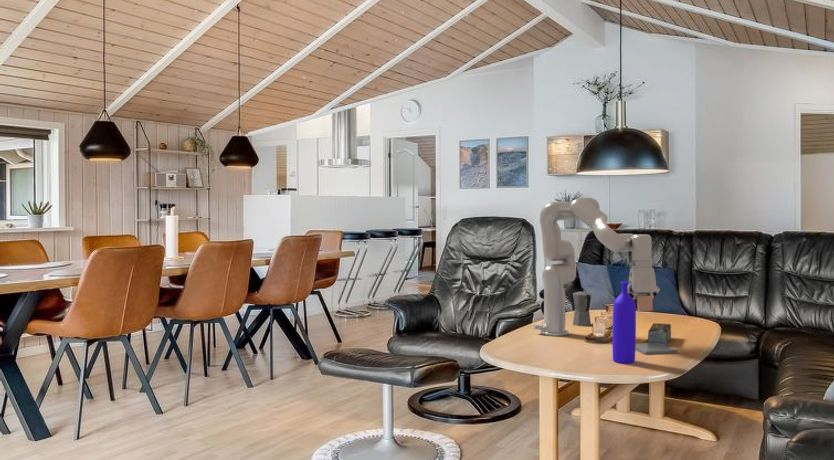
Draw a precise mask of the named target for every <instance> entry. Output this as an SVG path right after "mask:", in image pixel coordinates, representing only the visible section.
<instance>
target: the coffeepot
mask: <svg viewBox="0 0 834 460" xmlns="http://www.w3.org/2000/svg"><path fill="white" fill-rule="evenodd" d="M584 290H585V288H584V287H580V291H576V292H573V293H572V297H573V305H574V315H573V320H572V325H573V326H577V327H578V326H579V327H590V326H592V322H591V316H590V307H591V306H590V305H591V301H592V300H591V299H592V293H590V292H586V291H584ZM589 325H590V326H589Z"/></svg>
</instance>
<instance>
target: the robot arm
mask: <svg viewBox="0 0 834 460" xmlns="http://www.w3.org/2000/svg"><path fill="white" fill-rule="evenodd" d="M600 207H601V206H600V203H599V202H598V201H597V199H596V198H593V197H577V198H575V199H574V200H572V201H551V202H549V203H547V204H545V206H543V207H542V209H541V211H540V214H539V224H540V229H541V241H542V252H543V256H544V259H545V260H546V261H550V262H556V263H552V264H548V265H547V266H545V267H544V269H543V271H542V273H541V278H542V284H543V322H542V323H541V324H537V325H536V324H534V325H533V329H534V330H538V331H540V334H542V335H545V336H550V337H551V336H553V337H559V336H560V337H562V336H568V335H569V330H567V329H566V290H565V287H564V285H566V284H571V283H573V282H574V281H575V279H576V277H577V276H576V275H577V267H576V266H577V265H576V256H575V253H576V252H575V248H574V245H572V243H571V242H570V241H569V240H566V239H562V232H561V231H562V230H561V228H560V225H559V224H558V221H573V220H574V221H575V220H579V221H581V222H582V223H584V224H585V225H586V226H587V227H589V228H590V229H591V230H592V231H593V234H594V236H595V237H596V239H597V240H598V241H599V242H600V243H601V244H602V245H603V246H604V247H606V248H607V249H609V250H610V251H612V252H614V253H624V252H631V261H630V262H629V263H628V264H629V265H628V266H631V268H630V270H629V275H628V282H629V284H628V286H627V291H628V294H629V295H630V296H631V298H632V299H633V300H634V302H635V305H636V309H637V300H636V297H637V294H646V295H651V296H652V298H653V299H655V297H656V296H657V294H658V293H659V292H660V291H661V289H660V287H659V286H657V279H656V273H655V269H654V267H652V266H653V265H652V260H653V259H652V236H651V235H650V234H647V233H646V234H645V233H644V234H643V233H642V234H641V233H640V234H637V233H636V234H634V233H618V232H616V231H614V230H613V228H611V227H610V226H609V225H608V224H607V222H608V220H609V218H608V215H607V214H606V213H605V212H603V211H602V210H601V209H600Z"/></svg>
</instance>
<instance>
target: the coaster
mask: <svg viewBox="0 0 834 460" xmlns="http://www.w3.org/2000/svg"><path fill="white" fill-rule="evenodd" d="M636 351H637V352H638V353H641V354H643V355H661V354H662V355H666V354H678V353H679V349H677V348H674V347H671V346H668V345H667V346H666V345H664V344H661V343H648V342H643V343H636V346H635V352H636Z"/></svg>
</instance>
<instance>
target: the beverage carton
mask: <svg viewBox="0 0 834 460" xmlns="http://www.w3.org/2000/svg"><path fill="white" fill-rule="evenodd" d="M671 338H672V324H670V323H657V322H653V323H652V325H651V327H650V328H649V329H648V332H647V343H661V344H664V345H666V346H668V344H669V342H670V340H671Z"/></svg>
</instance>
